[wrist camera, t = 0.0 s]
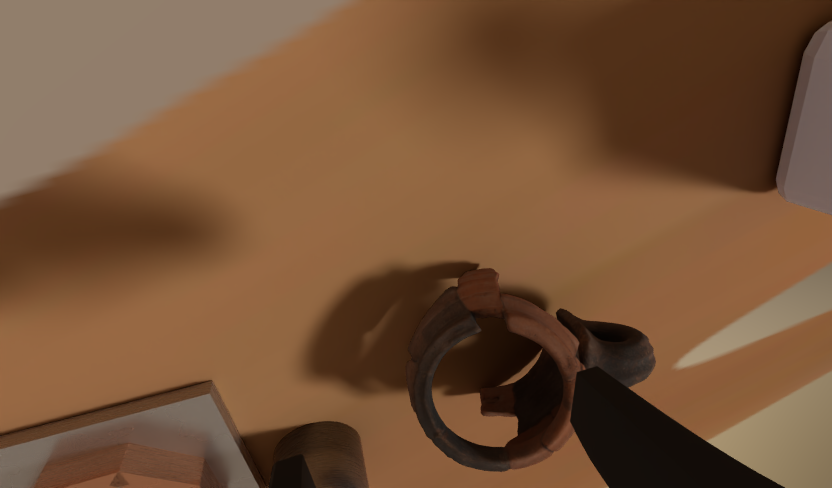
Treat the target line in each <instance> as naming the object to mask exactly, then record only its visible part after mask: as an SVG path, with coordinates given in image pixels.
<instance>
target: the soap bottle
mask: <svg viewBox="0 0 832 488" xmlns="http://www.w3.org/2000/svg"><path fill="white" fill-rule="evenodd" d="M776 183H777V188H778V193H779V194H780V195H781V196H782V197H783V198H784V199H785V200H786V201H787V202H791V203H794V204H797V205H800V206H804V207H807V208H810V209H814V210H817V211H820V212H823V213H827V214H830V215H832V21H830V22H828V23H827V24H825V25H824V26H823V27H822V28H820V29H819V30H818V31H816V32H815V33H814V35H813V37H812V39H811V41H810V42H809V44H808V46H807V48H806V50H805V51H804V54H803V58H802V63H801V67H800V72H799V76H798V81H797V86H796V90H795V95H794V99H793V104H792V108H791V113H790V117H789V122H788V126H787V131H786V135H785V140H784V144H783V149H782V153H781V158H780V163H779V167H778V172H777V176H776Z"/></svg>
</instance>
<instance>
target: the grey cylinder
mask: <svg viewBox="0 0 832 488" xmlns="http://www.w3.org/2000/svg"><path fill="white" fill-rule="evenodd" d="M300 454H303V456H304V459H305V461H306V464H307V466H308V469H309V471H310V474H311V476H312V479H313V481H314V484H315V486H316V488H369V485H368V480H367V474H366V468H365V462H364V457H363V451H362V445H361V439H360V436H359V434H358V433H357V431H356V430H355V429H353V428H352V427H350V426H348V425H346V424H343V423H339V422H332V421H325V422H316V423H311V424H308V425H305V426H302V427H300V428H297V429H296V430H294V431H292V432H290V433H289V434H288V435H286V436H285V437H284V438H283V439H282V440H281V441H280V442H279V444H278V445H277V447H276V449H275V452H274V464H275V463H276V462H277V461H280V460H283V459H287V458H290V457H294V456H297V455H300Z"/></svg>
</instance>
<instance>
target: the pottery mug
mask: <svg viewBox="0 0 832 488" xmlns="http://www.w3.org/2000/svg"><path fill="white" fill-rule="evenodd" d="M498 278H499V274H498V273H497V272H495V270H494V269H491V268H488V269H479V270H473V271H468V272H465V273H464V274H463V275H462V277H461V278H459V279H458V287H450V288H448V289H447V290H445V292H444V293H443V294H442V295H441V296H440V297H439V298H438V299H437V300H436V302H435V303H434V304H433V306H432V307H431V308H430V309H429V311H428V312H427V313H426V315H425V316H424V317H423V319H422V320H421V322H420V324H419V325H418V327H417V329H416V331H415V333H414V335H413V337H412V340H411V341H410V344H409V347H408V351H409V353H410V354H411V356H412V358H411V360H410V361H408V362H407V363H406V381H407V385H408V391H409V395H410V401H411V406H412V408H413V410H414V412H416V414H417V418H418V420H419V423H420V425H421V427H422V428H423V429H424V432H425V434H426V436H427V437H428V438H430V439H431V440H432V441H433V443H434V444H435V445H436V446H437V447H438V448H439V449H440V450H441V451H442V452H444V453H445V454H446V455H447V457H449V458H452V459H453V460H454V461H456V462H458V463H459V464H461V465H464V466H467V467H471V468H475V469H479V470H484V471H500V472H502V471H507V470H508V469H519V468H524V467H528V466H531V465H534V464H537V463H539V462H541V461H543V460H545V459H547V458H548V457H550V456H551V455H552V453H553V452H554V451H558V450H559V449H561V448H562V447H563V446H564V444H565V443H566V442H567V441H568V440H569V438H570V437H571V436H572V435H573V433H574V432H575V430H574V428H573V426H572V425H571V423H570V417H571V410H572V403H573V396H574V388H575V381H576V374H577V372H579V371H582V370H586V369H589V368H592V367H596V366H598V367H599V368H601V369H602V370H604V371H605V372H607V373H608V374H609V375H611V376H612V377H614V378H615V379H616V380H618V381H619V382H621V383H622V384H623V385H625V386H626V387H628V388H629V387H631V386H633V385H635V384H637V383H639V382H642V381H643V380H645V379H646V378H647V377H648V376H649V375H650V374H651V372H652V371H653V369H654V367H655V363H656V360H655V357H654V354H653V347H652V346H651V344H650V343H649V339H648V337H647V336H646V335H644V334H643V333H642V332H640V331H639V330H637V329H634V328H632V327H629V326H625V325H621V324H615V323H607V322H598V321H586V320H582V319H580V318H578V317H576V316H574V315H572V314H571V313H570V312H568V311H567V310H564V309H559V310H558V311H557V312H556V316H557V319H556V318H555V317H553V316H552V315H550V314H548V313H547V312H545V311H544V310H542V309H540V308H539V307H538V306H536V305H534V304H533V303H531V302H529V301H527V300H524V299H522V298H519V297H516V296H513V295H509V294H501V293H500V289H499V285H498V282H497V281H498ZM487 317H497V318H502V319H504V320H505V322H506V325H507V330H508V331H509V332H513V333H516V334H519V335H521V336H524V337H526V338H528V339H531V340H532V341H534V342H536V343H538V344H539V345H540V346H541V347H543V349H542V352H541V354H540V357H539V359H538V360H537V362H536V363H535V365H534V366H533V367H532V368H531V369H530V371H529V372H528V373H527V374H526V375H525V376H524V377H522V378H521V379H520V380H518V381H516V382H515V383H511V384H508V385H503V386H498V387H490V388H482V389H480V399H481V404H482V405H481V414H482V415H483V416H504V417H515V416H517V418H518V431H517V432H518V436H517V437H515V438H513V439H512V440H510V441H509V442H508V443H507V444H506V446H505V447H489V446H482V445H478V444H475V443H472V442H469V441H467V440H465V439H463V438H461V437H459V436H458V435H456V434H455V433H454V432H452V431H451V430H450V429H449V428H447V427H446V425H445V424H444V422H443V421H442V420H441V418H440V417H439V415H438V413H437V411H436V409H435V406H434V403H433V399H432V389H431V388H432V380H433V376H434V372H435V371H436V369H437V366H438V364H439V362H440V361H441V359H442V358H443V356H444V355H445V354H446V353H447V351H448V350H449V349H451V348H452V347H453V346H454V345H456V344H457V343H458V342H460V341H461V340H463V339H465V338H467V337H469V336H471V335H474V334H477V333H479V332H480V331H481V328H480V327H479V326H478V324H477V323H476V318H487Z"/></svg>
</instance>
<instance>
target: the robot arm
mask: <svg viewBox="0 0 832 488" xmlns="http://www.w3.org/2000/svg"><path fill="white" fill-rule="evenodd" d="M570 423H571V425H572V426H573V428H574V430H575V432H576V434H577V436H578V438H579V440H580V442H581V444H582V446H583V447H584V449H585V451H586V453H587V455H588V456H589V458H590V460H591V461H592V463H593V464H594V466H595V467H596V469H597V470H598V472H599V473H600V475H601V476H602V478H603V479H604V481H605V482H606V484H607V485H608V487H609V488H785V487H783V486H781V485H779V484H777V483H776V482H774V481H772V480H770V479H768V478H766V477H765V476H763V475H761V474H759V473H757V472H756V471H754V470H752V469H751V468H749V467H747V466H746V465H744V464H742V463H740V462H739V461H737V460H735V459H734V458H732V457H731V456H729V455H727V454H726V453H724V452H722V451H721V450H719V449H718V448H716V447H714V446H713V445H711V444H710V443H708V442H707V441H705V440H703V439H702V438H700V437H699V436H697V435H696V434H694V433H693V432H691V431H690V430H688V429H687V428H685V427H684V426H682V425H681V424H679V423H678V422H676V421H675V420H673V419H672V418H670V417H669V416H667V415H666V414H664V413H663V412H662V411H660V410H659V409H657V408H656V407H654V406H653V405H651V404H650V403H649V402H647V401H646V400H644V399H643V398H642V397H640V396H639V395H637V394H636V393H635V392H633V391H632V390H630V389H629V388H628V387H626V386H625V385H623V384H622V383H621V382H619V381H618V380H616V379H615V378H614V377H612V376H611V375H609V374H608V373H607V372H605V371H604V370H602V369H601V368H599V367H598V366H596V367H592V368H589V369H586V370H582V371H579V372H577V374H576V381H575V388H574V396H573V403H572V410H571V417H570ZM268 488H316V486H315V484H314V481H313V479H312V476H311V474H310V471H309V469H308V466H307V464H306V461H305V459H304V456H303V454H300V455H297V456H294V457H290V458H287V459H283V460H280V461H277V462H276V463H275V464H274V465H273V467H272V473H271V478H270V482H269V487H268Z"/></svg>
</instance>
